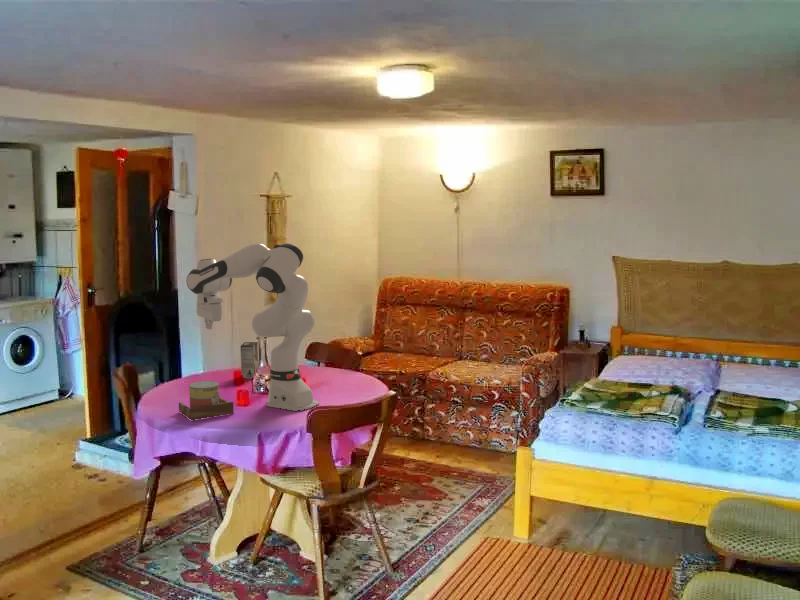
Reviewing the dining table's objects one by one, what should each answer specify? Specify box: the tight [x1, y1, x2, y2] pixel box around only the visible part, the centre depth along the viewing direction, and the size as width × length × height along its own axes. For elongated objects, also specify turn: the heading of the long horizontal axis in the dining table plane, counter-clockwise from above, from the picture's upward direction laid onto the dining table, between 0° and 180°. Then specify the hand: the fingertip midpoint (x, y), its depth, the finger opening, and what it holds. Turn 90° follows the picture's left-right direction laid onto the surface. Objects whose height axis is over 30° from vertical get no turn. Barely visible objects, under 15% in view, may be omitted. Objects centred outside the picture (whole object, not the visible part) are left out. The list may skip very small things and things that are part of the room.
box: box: [178, 396, 235, 420], centre depth 301 cm, size 14×17×5 cm
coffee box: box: [240, 341, 259, 380], centre depth 360 cm, size 9×6×16 cm
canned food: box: [188, 380, 220, 408], centre depth 300 cm, size 11×11×12 cm
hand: (209, 328), depth 324 cm, fingers closed
